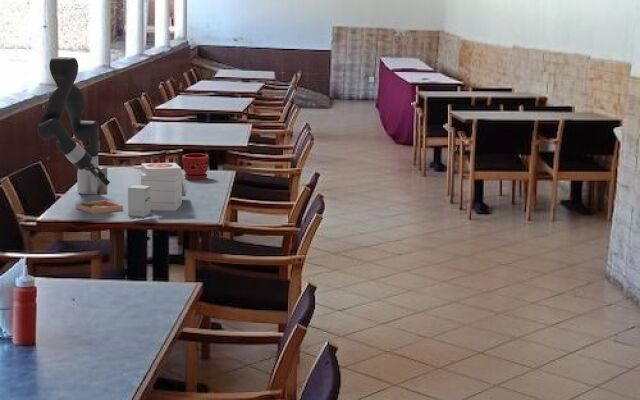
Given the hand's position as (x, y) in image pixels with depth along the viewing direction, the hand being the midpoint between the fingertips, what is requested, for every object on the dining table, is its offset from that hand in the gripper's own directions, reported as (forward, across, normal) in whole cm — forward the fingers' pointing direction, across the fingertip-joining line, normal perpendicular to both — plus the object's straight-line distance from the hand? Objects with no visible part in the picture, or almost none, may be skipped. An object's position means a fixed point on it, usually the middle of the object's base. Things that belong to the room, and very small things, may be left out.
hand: (105, 182), depth 426 cm
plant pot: (+57, +56, -41) cm, 90 cm away
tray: (+6, -2, +11) cm, 12 cm away
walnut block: (+2, 0, +13) cm, 13 cm away
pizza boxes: (+27, +1, -11) cm, 29 cm away
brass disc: (+3, -6, +12) cm, 14 cm away
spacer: (+2, 0, +5) cm, 5 cm away
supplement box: (+13, -19, +3) cm, 23 cm away
